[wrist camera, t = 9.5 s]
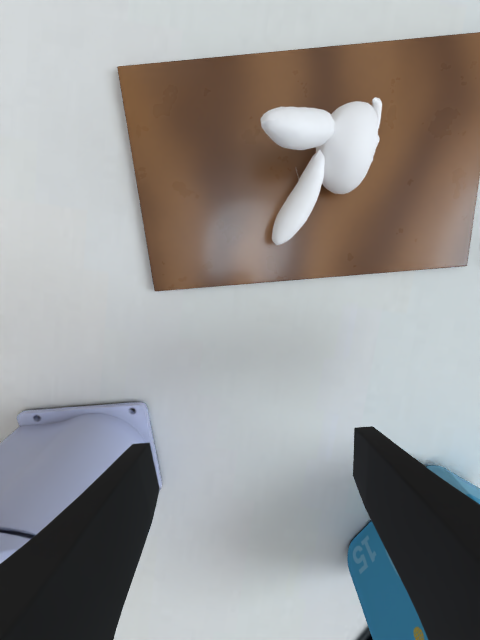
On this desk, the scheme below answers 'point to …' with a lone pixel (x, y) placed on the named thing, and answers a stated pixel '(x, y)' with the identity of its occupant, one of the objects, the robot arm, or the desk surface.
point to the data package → (390, 578)
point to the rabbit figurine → (323, 154)
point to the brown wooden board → (305, 161)
